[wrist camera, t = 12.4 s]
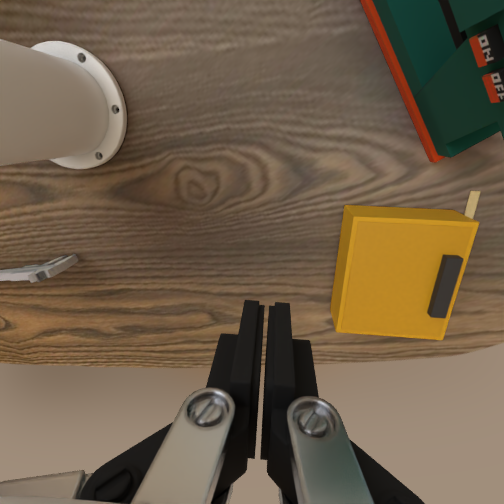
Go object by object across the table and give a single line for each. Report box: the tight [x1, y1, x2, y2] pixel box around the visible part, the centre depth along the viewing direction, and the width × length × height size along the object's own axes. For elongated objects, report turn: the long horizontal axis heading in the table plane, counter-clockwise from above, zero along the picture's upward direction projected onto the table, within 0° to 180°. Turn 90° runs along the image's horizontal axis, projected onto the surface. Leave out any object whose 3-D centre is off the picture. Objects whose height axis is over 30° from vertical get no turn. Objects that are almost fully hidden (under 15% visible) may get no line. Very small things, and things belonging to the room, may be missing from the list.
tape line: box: [464, 191, 481, 219], centre depth 37 cm, size 1×18×1 cm, turn 179°
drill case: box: [330, 205, 479, 340], centre depth 35 cm, size 12×14×6 cm
